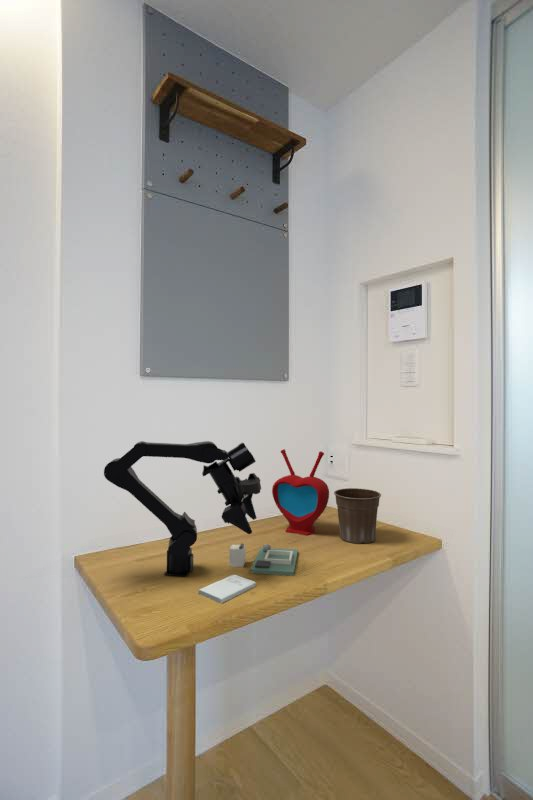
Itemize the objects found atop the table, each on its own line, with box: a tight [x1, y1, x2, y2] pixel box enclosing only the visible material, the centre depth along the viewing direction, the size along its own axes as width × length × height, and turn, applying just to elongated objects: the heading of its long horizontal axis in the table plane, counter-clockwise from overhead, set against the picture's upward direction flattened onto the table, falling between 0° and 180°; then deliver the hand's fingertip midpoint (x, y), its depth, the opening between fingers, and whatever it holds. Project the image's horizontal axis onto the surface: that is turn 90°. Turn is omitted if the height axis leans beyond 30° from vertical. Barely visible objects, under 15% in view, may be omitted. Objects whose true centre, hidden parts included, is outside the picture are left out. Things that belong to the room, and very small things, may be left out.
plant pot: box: [333, 487, 382, 545], centre depth 145 cm, size 16×16×16 cm
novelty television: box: [271, 449, 330, 536], centre depth 155 cm, size 21×13×30 cm, turn 62°
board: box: [250, 544, 299, 577], centre depth 123 cm, size 12×18×3 cm, turn 172°
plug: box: [228, 543, 246, 568], centre depth 121 cm, size 4×4×6 cm
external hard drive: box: [197, 574, 257, 604], centre depth 104 cm, size 2×8×12 cm
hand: (253, 525), depth 119 cm, fingers open, 9 cm apart
